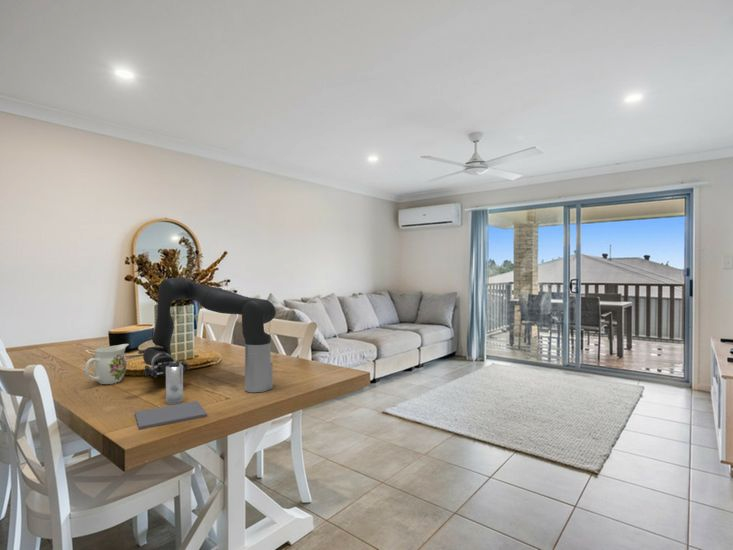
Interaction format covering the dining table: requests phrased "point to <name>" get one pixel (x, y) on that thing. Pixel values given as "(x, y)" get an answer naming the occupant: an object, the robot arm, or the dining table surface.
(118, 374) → the pitcher
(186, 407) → the placemat
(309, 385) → the dining table surface
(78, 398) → the dining table surface
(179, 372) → the pepper mill
